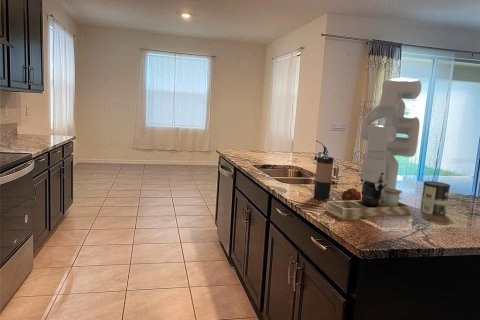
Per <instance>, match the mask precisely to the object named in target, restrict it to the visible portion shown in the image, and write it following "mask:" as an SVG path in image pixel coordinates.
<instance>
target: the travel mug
mask: <svg viewBox="0 0 480 320" xmlns="http://www.w3.org/2000/svg"><path fill="white" fill-rule="evenodd" d="M315 167H316V168H315V177H314V191H313V197H314V198H313V199H316V200H318V201H326V200H329V199H330V193H331V188H332V187H331V186H332V176H333V167H334V158H333V157H331V156H320V157H319V156H317V159H316V166H315Z"/></svg>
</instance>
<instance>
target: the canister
mask: <svg viewBox="0 0 480 320" xmlns="http://www.w3.org/2000/svg"><path fill="white" fill-rule="evenodd" d="M400 190H401V189H397V188H396V189H392V188H385V189H384V191H385V193H384V198H383V200H384V201H383V205H386V206H389V207H398V202H400V195H401V194H400Z"/></svg>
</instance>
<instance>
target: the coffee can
mask: <svg viewBox="0 0 480 320" xmlns="http://www.w3.org/2000/svg"><path fill="white" fill-rule="evenodd" d="M450 188H451V184H449V183H445V182H439V181H433V180H423V186H422V194H421V200H420V208H419V211H420V212H421V213H424V214H427V215H432V216H446V215H447V209H448V208H447V207H448V200H449V194H450Z"/></svg>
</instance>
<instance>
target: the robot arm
mask: <svg viewBox="0 0 480 320" xmlns="http://www.w3.org/2000/svg"><path fill="white" fill-rule="evenodd" d="M381 87H382V93H381V95H380V100H379V103H378V105H376V106H375V107H373V108H372V109H371V110H370V111H368V113H367V114H366V115H365V116H364V119H363V122H362V125H361V129H360V137H361V138H362V139H363V141H367V147H366V154H365V157H364V159H363V162H362V167H361V171H360V172H361V173H360V174H359V178H360V182H361V185H362V187H361V195H362V194H363V187H364V185H365V184H367V181H368V182H371V183H375V188H376V190H374V197H373V199H379V200H382V199H384V193H385V191H384V189H385V188H392V189H397V188H396V187H397V182H398V181H397V180H398V174H399V161H398V160H397V159H396V156H397V157H405V158H412V157H415V155H416V153H417V151H418V150H417V149H418V142H419V141H418V140H419V134H420V124H421V123H420V119H419V118H418V117H417V116H416V115H407V114H405V111H406V103H405V101H404V100H405V99H406V100H415V99H417V98H418V97H419V96H420V94H421V91H422V83H421V81H420V79H415V78H414V79H413V78H411V79H410V78H409V79H408V78H407V79H406V78H389V79H386V80H384V81H383V82H382V85H381ZM383 118H384V119H385V121H384V124H379V123H374V122H375V121H377V120H379V119H383ZM397 135H406V136H407V137H405V136H404V137H403V136H397ZM378 181H379V182H378ZM378 185H379V186H378ZM399 190H400V195H401V194H403V190H402V189H399Z"/></svg>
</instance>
